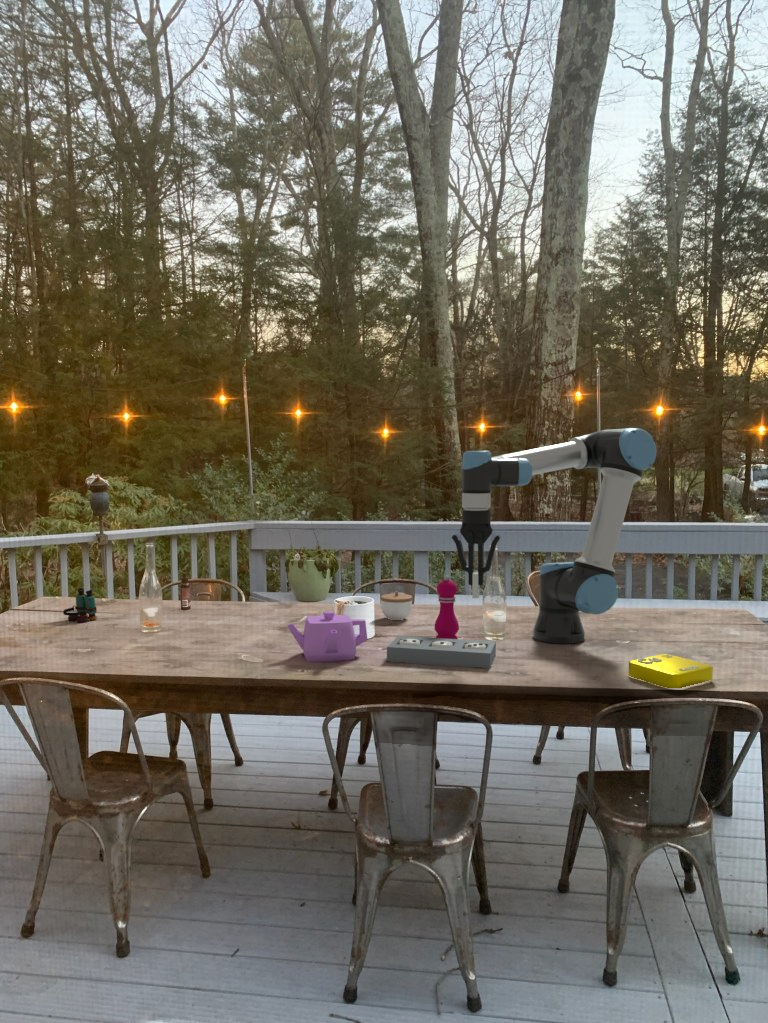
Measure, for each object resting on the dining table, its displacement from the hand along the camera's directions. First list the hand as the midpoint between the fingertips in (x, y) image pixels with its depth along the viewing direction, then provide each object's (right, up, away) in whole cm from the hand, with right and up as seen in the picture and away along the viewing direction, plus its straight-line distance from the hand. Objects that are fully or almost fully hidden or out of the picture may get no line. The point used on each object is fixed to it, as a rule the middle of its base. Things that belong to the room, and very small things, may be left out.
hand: (475, 597), depth 204 cm
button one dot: (-9, -16, +3) cm, 19 cm away
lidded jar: (-20, -14, +55) cm, 60 cm away
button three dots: (0, -17, +1) cm, 17 cm away
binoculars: (-126, -14, +52) cm, 137 cm away
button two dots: (-18, -16, +6) cm, 24 cm away
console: (-9, -17, +3) cm, 20 cm away
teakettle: (-40, -17, +6) cm, 44 cm away
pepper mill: (-6, -16, +22) cm, 28 cm away
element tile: (+46, -19, -16) cm, 52 cm away
